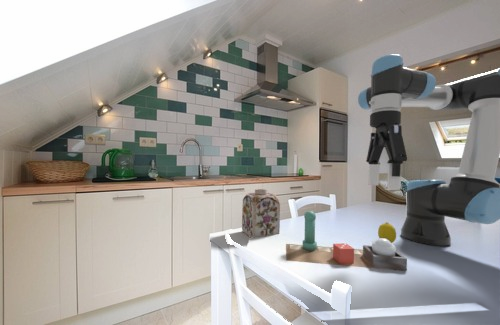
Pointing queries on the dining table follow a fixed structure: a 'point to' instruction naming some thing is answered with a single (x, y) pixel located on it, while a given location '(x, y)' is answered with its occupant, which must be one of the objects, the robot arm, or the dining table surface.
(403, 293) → the dining table surface
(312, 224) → the pawn
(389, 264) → the board
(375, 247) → the dome
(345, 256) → the red cube
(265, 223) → the decorative jar
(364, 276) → the dining table surface
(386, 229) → the lemon
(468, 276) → the dining table surface
